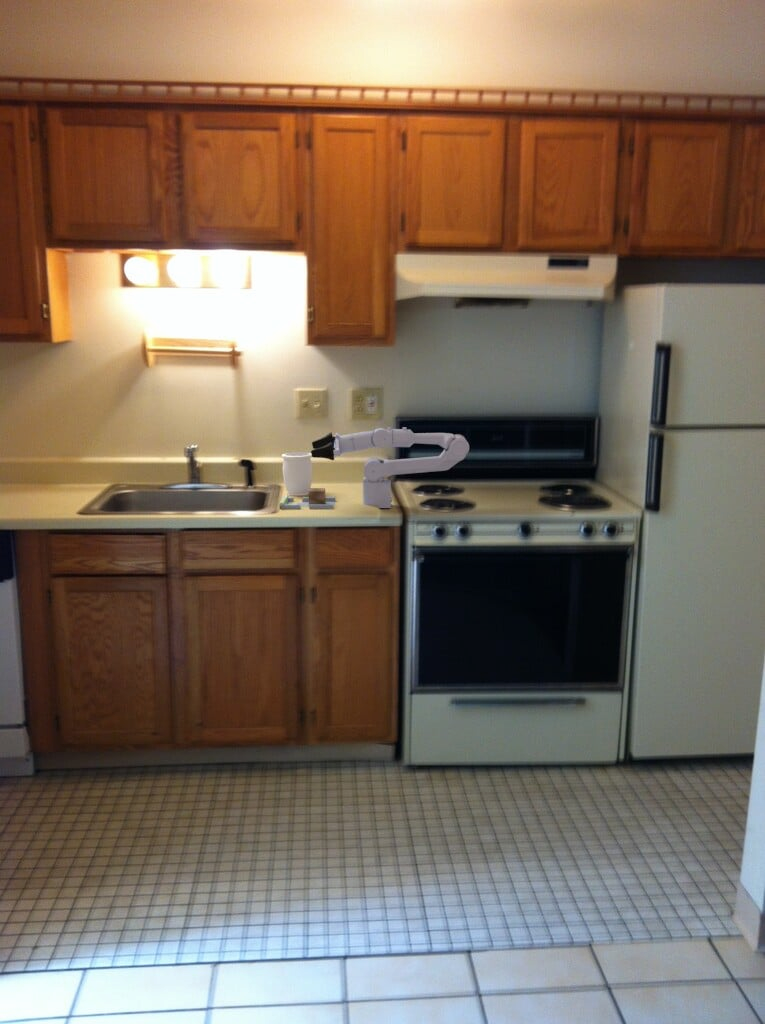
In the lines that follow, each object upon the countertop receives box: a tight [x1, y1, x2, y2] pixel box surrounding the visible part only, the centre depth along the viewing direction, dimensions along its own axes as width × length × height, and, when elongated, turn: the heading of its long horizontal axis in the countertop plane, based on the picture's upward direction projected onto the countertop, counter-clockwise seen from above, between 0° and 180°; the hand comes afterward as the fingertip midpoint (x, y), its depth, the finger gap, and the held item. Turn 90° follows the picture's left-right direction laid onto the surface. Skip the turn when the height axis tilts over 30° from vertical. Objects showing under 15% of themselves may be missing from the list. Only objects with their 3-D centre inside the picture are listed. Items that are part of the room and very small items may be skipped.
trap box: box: [279, 494, 336, 510], centre depth 277 cm, size 17×12×3 cm
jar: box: [281, 451, 313, 497], centre depth 295 cm, size 11×10×15 cm
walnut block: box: [308, 487, 327, 505], centre depth 277 cm, size 5×5×5 cm
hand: (312, 449), depth 275 cm, fingers open, 7 cm apart
